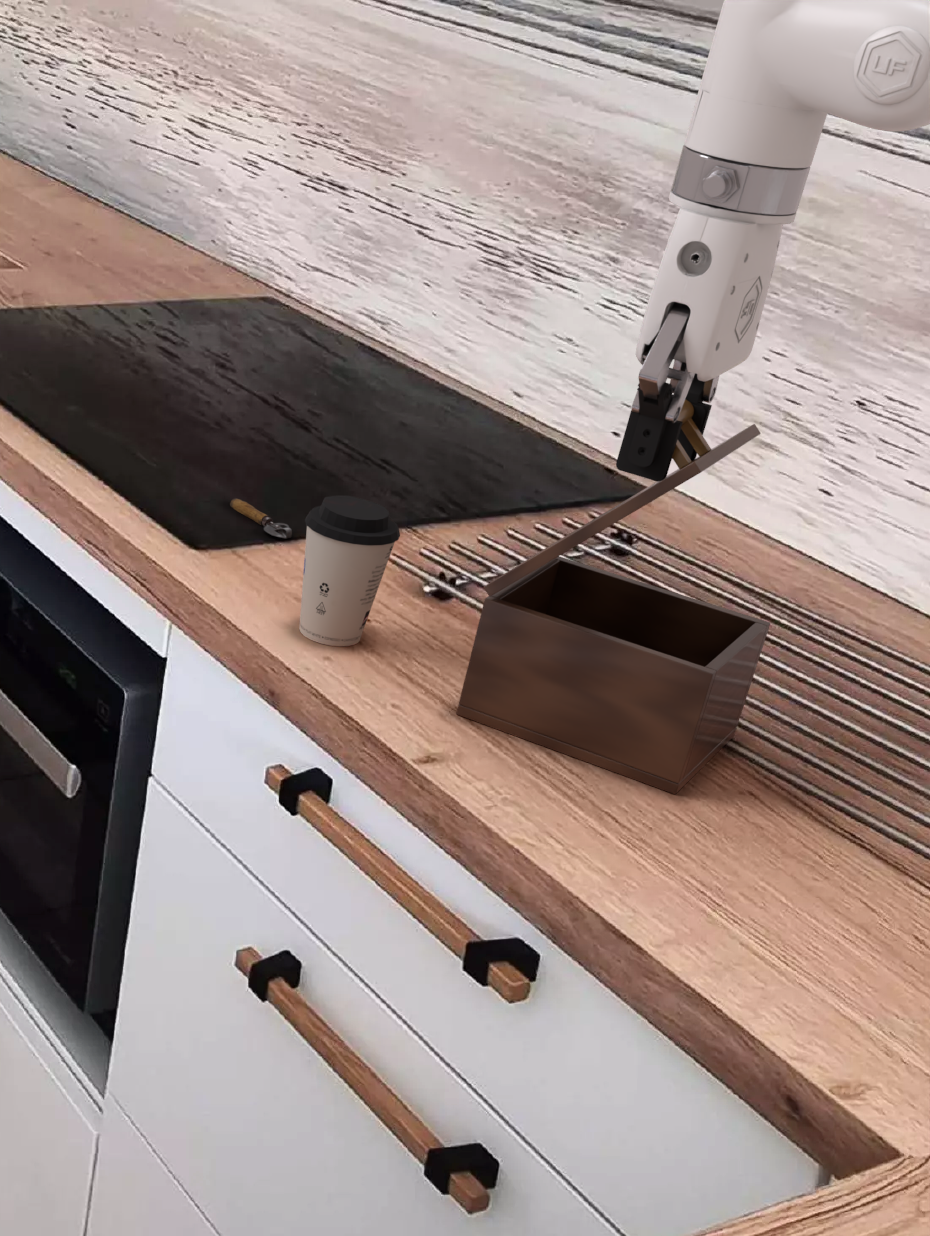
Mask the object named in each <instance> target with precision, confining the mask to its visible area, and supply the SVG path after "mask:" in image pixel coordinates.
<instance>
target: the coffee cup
mask: <svg viewBox="0 0 930 1236" xmlns="http://www.w3.org/2000/svg"><path fill="white" fill-rule="evenodd" d="M304 522H305V526H306V535H305V545H304V546H305V547H304V560H303V561H304V562H303V573H302V575H303V576H302V585H301V600H300V613H299V623H298V624H299V626H298V628H299V633H300V634H301V635H303V637H305V638H306V639H308V640H310V641H313V642H316V643H319V644H321V645H326V646H331V647H332V646H333V647H349V646H354V645H357V644H359V642H360V640H361V638H362V635H363V633H364V629H365V626H366V624H367V621H368V618H369V615H370V612H371V609H372V607H373V604H374V602H375V598H376V595H377V593H378V590H379V588H380V584H381V582H382V579H383V576H384V573H385V571H386V568H387V565H388V562H389V559H390V557H391V554H392V551H393V548H394V545H395V543H396V542H397V541H399V539H400V537H401V533H400V529H399V525H398V523H397V522H396V520H394V519H392V518H391V517H390V512H389V510H388V509H387V508H386V507H385V506H383V505H381V504H379V503H376V502H374V501H370V500H368V499H364V498H360V497H356V496H352V495H329V496H325V497H324V498H323V500H322V503H321V505H317V506H315V507H313V508H311V509H310V511H308V514H307V515H306V517H305V519H304Z"/></svg>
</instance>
